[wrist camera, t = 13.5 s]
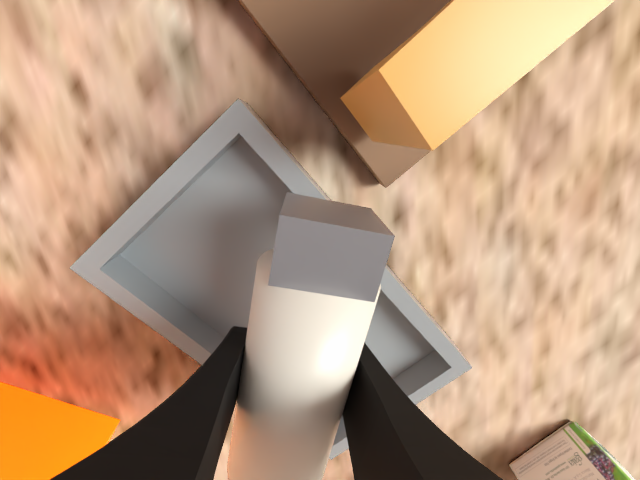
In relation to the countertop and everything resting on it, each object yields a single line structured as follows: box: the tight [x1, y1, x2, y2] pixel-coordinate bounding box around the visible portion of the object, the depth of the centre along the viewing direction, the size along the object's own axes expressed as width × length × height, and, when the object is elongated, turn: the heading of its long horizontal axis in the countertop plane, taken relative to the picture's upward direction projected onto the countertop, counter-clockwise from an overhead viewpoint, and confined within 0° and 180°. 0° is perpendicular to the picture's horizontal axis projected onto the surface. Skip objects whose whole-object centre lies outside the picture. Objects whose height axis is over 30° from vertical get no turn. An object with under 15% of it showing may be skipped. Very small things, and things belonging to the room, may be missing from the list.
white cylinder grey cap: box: [227, 192, 395, 480], centre depth 11 cm, size 11×4×4 cm, turn 168°
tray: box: [70, 98, 472, 459], centre depth 15 cm, size 17×10×2 cm, turn 41°
